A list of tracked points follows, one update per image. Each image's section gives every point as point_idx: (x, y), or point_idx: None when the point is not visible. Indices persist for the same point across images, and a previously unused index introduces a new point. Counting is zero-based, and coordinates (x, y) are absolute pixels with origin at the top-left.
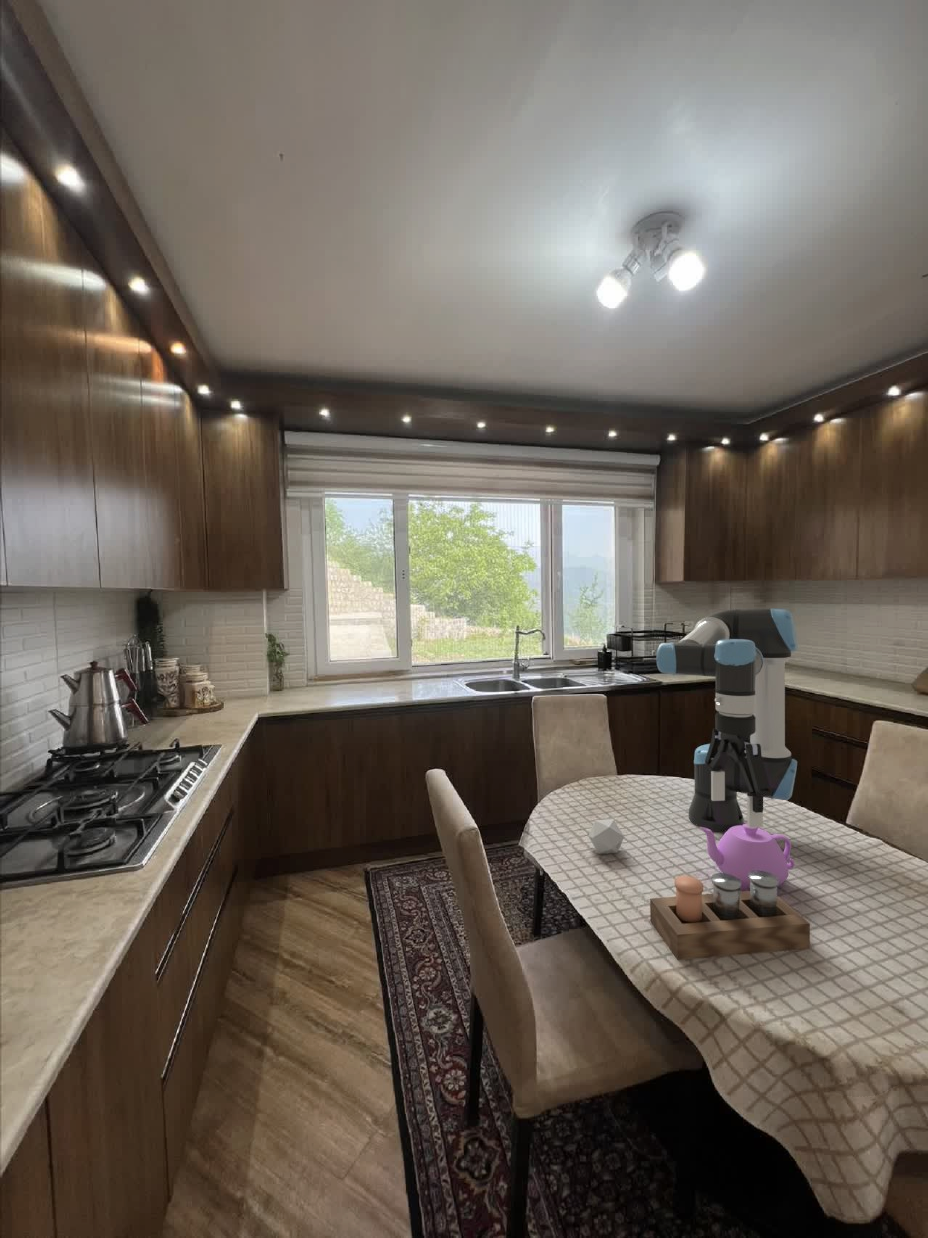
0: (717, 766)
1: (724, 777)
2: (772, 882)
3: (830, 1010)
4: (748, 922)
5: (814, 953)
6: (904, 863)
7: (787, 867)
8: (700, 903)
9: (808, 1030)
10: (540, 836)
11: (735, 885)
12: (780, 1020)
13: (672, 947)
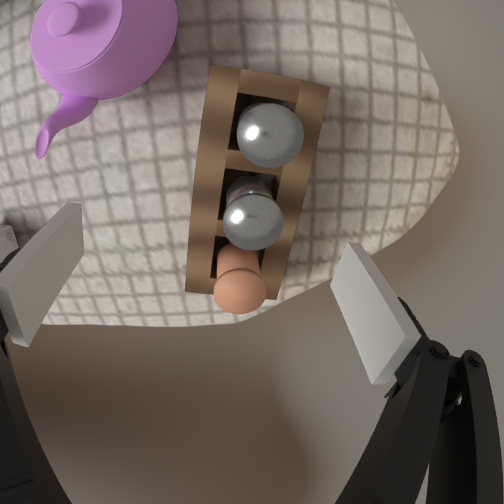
0: (5, 355)
1: (25, 267)
2: (296, 134)
3: (401, 170)
4: (290, 186)
5: None
6: None
7: None
8: (258, 267)
9: (404, 216)
10: None
11: (277, 220)
12: (385, 232)
13: None
